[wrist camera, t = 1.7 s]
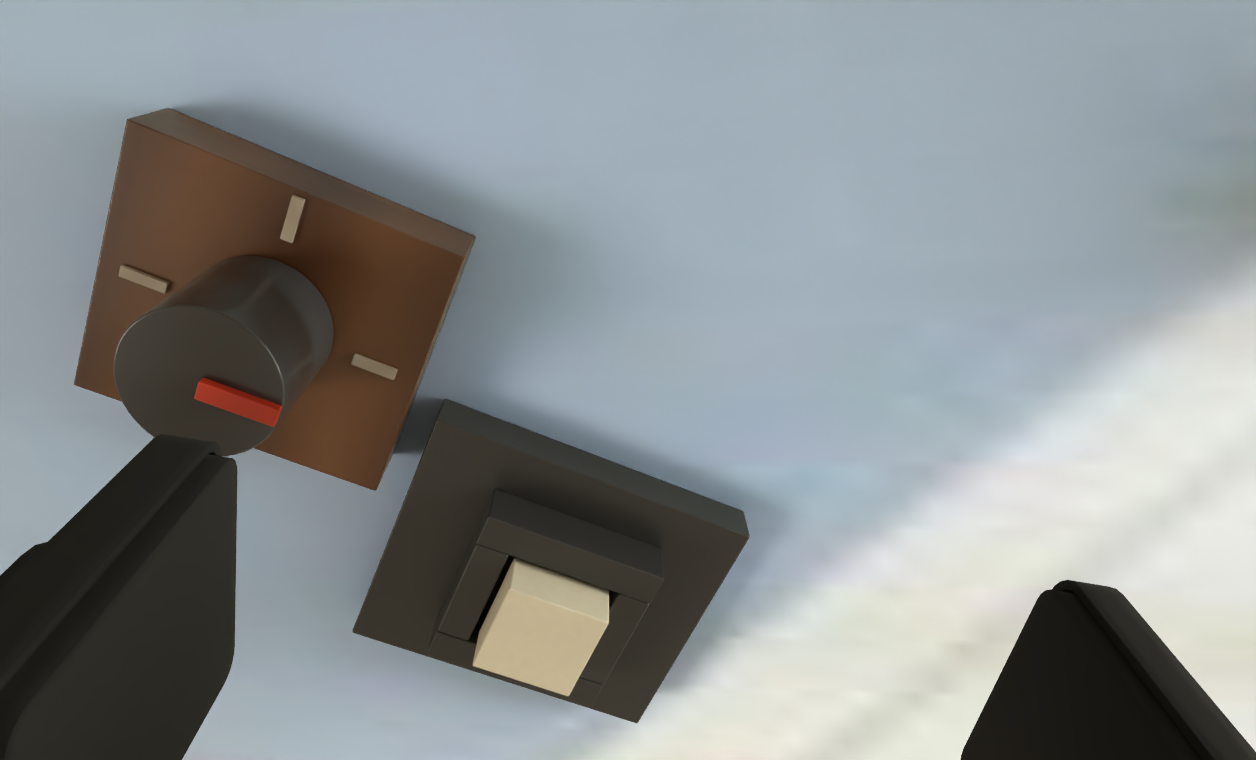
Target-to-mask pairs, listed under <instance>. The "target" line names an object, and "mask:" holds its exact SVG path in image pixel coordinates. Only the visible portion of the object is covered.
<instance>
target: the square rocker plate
mask: <svg viewBox="0 0 1256 760" xmlns="http://www.w3.org/2000/svg"><path fill="white" fill-rule="evenodd" d="M748 539H749V532H748V528H747V524H746V520H745V516H744V512H743V511H741V510H738V509H736V508H733V507H730V506H728V505H725V504H722V503H720V502H717V501H715V500H712V499H709V498H707V497H704V496H701V495H699V494H696V493H693V492H691V491H688V490H686V489H683V488H680V487H678V486H675V485H672V484H670V483H667V482H664V481H662V480H659V479H656V478H654V477H651V476H649V475H646V474H643V473H641V472H638V471H635V470H633V469H630V468H627V467H625V466H622V465H620V464H617V463H614V462H612V461H609V460H606V459H604V458H601V457H598V456H596V455H593V454H590V453H588V452H585V451H583V450H580V449H577V448H575V447H572V446H569V445H567V444H564V443H561V442H559V441H556V440H553V439H551V438H548V437H546V436H543V435H540V434H538V433H535V432H532V431H530V430H527V429H524V428H522V427H519V426H517V425H514V424H511V423H509V422H506V421H503V420H501V419H498V418H495V417H493V416H490V415H487V414H485V413H482V412H480V411H477V410H474V409H472V408H469V407H466V406H464V405H461V404H458V403H456V402H453V401H451V400H448V399H445V400H444V402H443V405H442V407H441V410H440V412H439V414H438V417H437V419H436V422H435V424H434V427H433V429H432V432H431V434H430V437H429V439H428V442H427V445H426V447H425V450H424V452H423V455H422V457H421V460H420V462H419V465H418V467H417V470H416V472H415V475H414V477H413V480H412V482H411V485H410V487H409V490H408V492H407V495H406V497H405V500H404V502H403V505H402V507H401V510H400V512H399V515H398V517H397V520H396V522H395V525H394V528H393V530H392V533H391V535H390V538H389V540H388V543H387V545H386V548H385V550H384V553H383V555H382V558H381V560H380V563H379V565H378V568H377V570H376V573H375V575H374V578H373V580H372V583H371V585H370V588H369V590H368V593H367V595H366V598H365V600H364V603H363V605H362V608H361V611H360V613H359V616H358V618H357V621H356V623H355V626H354V628H353V633H356V634H359V635H362V636H365V637H368V638H371V639H375V640H378V641H381V642H384V643H387V644H390V645H393V646H397V647H400V648H403V649H406V650H409V651H412V652H415V653H418V654H422V655H425V656H428V657H431V658H434V659H437V660H440V661H444V662H447V663H450V664H453V665H456V666H459V667H462V668H465V669H469V670H472V671H475V672H478V673H481V674H484V675H487V676H490V677H494V678H497V679H500V680H503V681H506V682H509V683H512V684H516V685H519V686H522V687H525V688H528V689H531V690H534V691H537V692H541V693H544V694H547V695H550V696H553V697H556V698H559V699H563V700H566V701H569V702H572V703H575V704H578V705H581V706H584V707H588V708H591V709H594V710H597V711H600V712H603V713H606V714H609V715H613V716H616V717H619V718H622V719H625V720H628V721H631V722H635V723H638V721H639V720H640V718H641V716H642V715H643V713H644V711H645V710H646V708H647V706H648V705H649V703H650V701H651V700H652V698H653V696H654V695H655V693H656V691H657V690H658V688H659V686H660V685H661V683H662V681H663V680H664V678H665V676H666V675H667V673H668V671H669V670H670V668H671V667H672V665H673V663H674V662H675V660H676V658H677V657H678V655H679V653H680V652H681V650H682V648H683V647H684V645H685V643H686V642H687V640H688V638H689V637H690V635H691V633H692V632H693V630H694V628H695V627H696V625H697V623H698V622H699V620H700V618H701V617H702V615H703V613H704V612H705V610H706V608H707V607H708V605H709V603H710V602H711V600H712V598H713V597H714V595H715V593H716V592H717V590H718V589H719V587H720V585H721V584H722V582H723V580H724V579H725V577H726V575H727V574H728V572H729V570H730V569H731V567H732V565H733V564H734V562H735V560H736V559H737V557H738V555H739V554H740V552H741V550H742V549H743V547H744V545H745V544H746V542H747V540H748ZM514 558H518V559H521V560H524V561H526V562H529V563H532V564H535V565H538V566H541V567H544V568H547V569H549V570H552V571H555V572H558V573H561V574H564V575H567V576H570V577H572V578H575V579H578V580H581V581H584V582H587V583H590V584H593V585H595V586H598V587H601V588H604V589H607V590H609V624H608V625H607V627H606V629H605V631H604V633H603V635H602V636H601V638H600V640H599V642H598V644H597V646H596V647H595V649H594V651H593V653H592V655H591V656H590V658H589V660H588V662H587V664H586V666H585V667H584V669H583V671H582V673H581V675H580V676H579V678H578V680H577V682H576V684H575V686H574V687H573V689H572V691H571V693H570V695H569V696H565V695H562V694H559V693H556V692H553V691H549V690H546V689H543V688H540V687H537V686H534V685H531V684H528V683H525V682H521V681H518V680H515V679H512V678H509V677H506V676H503V675H500V674H496V673H493V672H490V671H487V670H484V669H481V668H478V667H475V666H473V659H474V655H475V650H476V645H477V640H478V635H479V631H480V629H481V627H482V625H483V623H484V620H485V618H486V616H487V614H488V612H489V610H490V608H491V606H492V604H493V601H494V599H495V597H496V595H497V593H498V591H499V589H500V587H501V585H502V583H503V580H504V578H505V576H506V574H507V572H508V570H509V568H510V566H511V564H512V561H513V559H514Z"/></svg>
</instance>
